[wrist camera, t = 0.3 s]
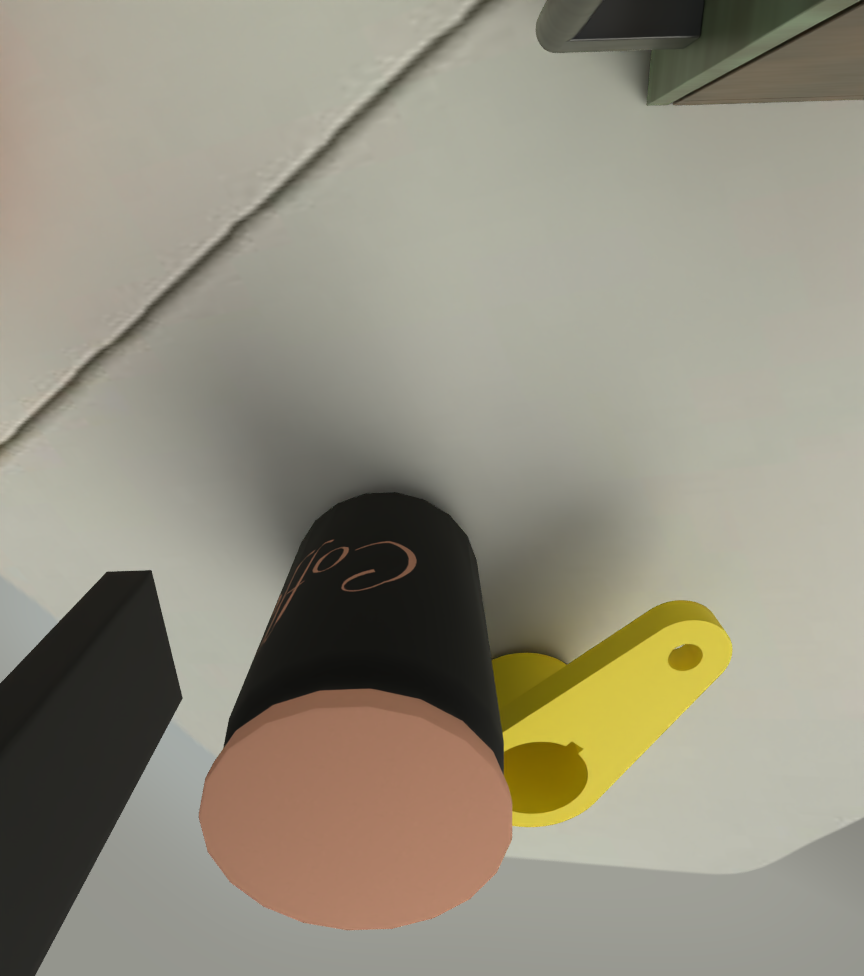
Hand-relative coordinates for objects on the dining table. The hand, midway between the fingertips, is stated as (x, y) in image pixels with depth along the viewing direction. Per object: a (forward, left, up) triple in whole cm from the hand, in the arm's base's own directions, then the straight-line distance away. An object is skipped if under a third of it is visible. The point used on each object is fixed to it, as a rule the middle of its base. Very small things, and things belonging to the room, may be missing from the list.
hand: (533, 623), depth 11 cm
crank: (+19, +7, -17) cm, 27 cm away
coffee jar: (+12, -5, -24) cm, 27 cm away
